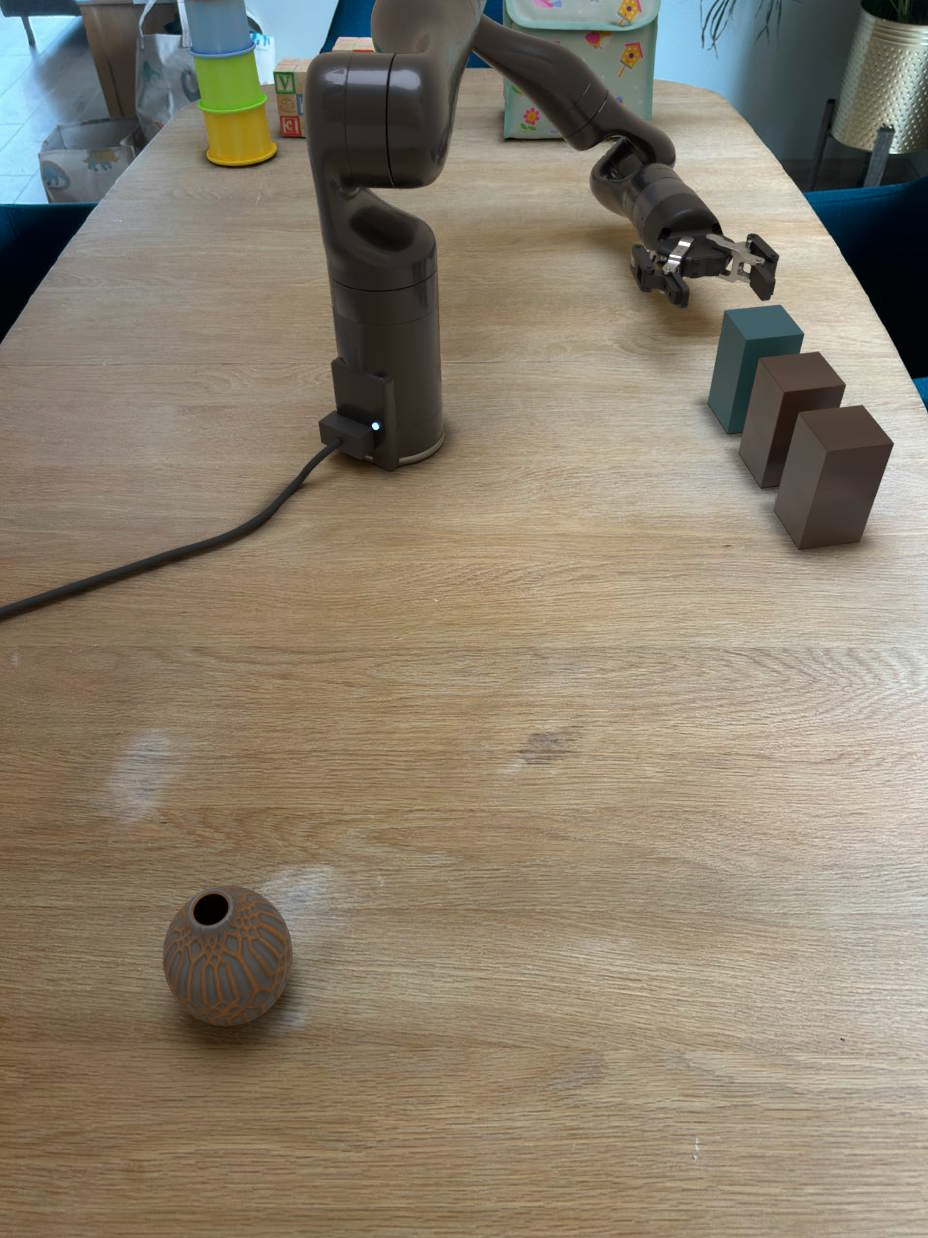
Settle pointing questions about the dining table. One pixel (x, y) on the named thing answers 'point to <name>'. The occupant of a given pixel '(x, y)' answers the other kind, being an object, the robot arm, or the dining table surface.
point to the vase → (227, 955)
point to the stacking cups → (228, 82)
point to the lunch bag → (588, 52)
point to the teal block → (747, 357)
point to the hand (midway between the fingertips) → (727, 296)
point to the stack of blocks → (292, 81)
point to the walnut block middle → (784, 409)
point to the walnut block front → (832, 476)
